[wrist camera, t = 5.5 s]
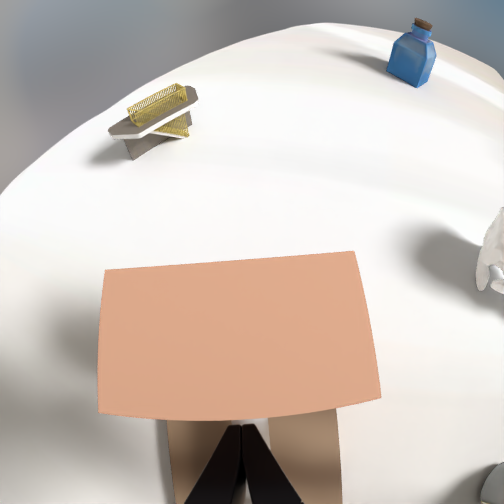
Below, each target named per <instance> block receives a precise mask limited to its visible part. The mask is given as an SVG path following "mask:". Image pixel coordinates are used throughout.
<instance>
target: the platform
mask: <svg viewBox="0 0 504 504" xmlns="http://www.w3.org/2000/svg"><path fill="white" fill-rule="evenodd" d="M174 85H175V86H174ZM171 86H172V88H171ZM171 86H169V87H170V88H171V92H170V88H169V87H167V88H165V89H163V90H164V93H163V90H161V91H162V93H163V97H162V98H161V96H162V93H161V96H160V92H161V91H159V92H157V93H155V94H153V95H154V98H155V95H156V94H157V95H158V93H159V96H160V99H159V96H158V99H157V95H156V98H155V102H154V98H153V95H151V96H152V98H153V101H152V98H151V96H149V97H150V98H151V101H152V103H151V101H150V98H149V97H147V98H145V99H144V100H145V101H146V99H147V101H148V98H149V101H150V104H149V101H148V104H149V105H148V104H147V101H146V104H147V106H146V104H145V101H144V100H142V101H140V102H138V103H136V104H137V107H138V104H139V103H140V104H141V102H142V104H143V101H144V104H145V107H144V104H143V107H144V108H143V107H142V104H141V107H142V109H141V107H140V104H139V107H140V110H139V107H138V110H137V107H136V104H134V105H133V106H131V107H132V109H131V107H129V108H130V109H129V108H127V110H128V113H129V116H128V117H126V118H125V119H123V120H121V121H120V122H118V123H116V124H115V125H113V126H112V127H110V128H109V129H108V132H109V134H110V136H111V137H112V138H113V139H124V142H125V144H126V146H127V149H128V151H129V153H130V155H131V158H132V160H135V159H136V158H138V157H139V156H141V155H142V154H144V153H145V152H147V151H149V150H150V149H152V148H153V147H155V146H157V145H158V144H160V143H161V142H163V141H165V140H166V139H168V138H170V137H177V138H185V137H188V136H189V133H188V134H187V132H188V128H187V127H189V126H190V125H192V121H191V116H190V111H189V110H191V109H193V108H195V107H196V106H197V105H198V104H199V101H198V97H197V94H196V90H195V88H193V87H191V86H185V87H183V86H181V85H179V84H177V83H175V84H173V85H171ZM173 86H174V89H173ZM176 86H177V87H176ZM175 87H176V90H175ZM168 88H169V91H168ZM166 89H167V90H166ZM172 89H173V92H172ZM165 90H166V94H167V91H168V95H166V94H165ZM174 90H175V91H174ZM169 92H170V94H169ZM164 94H165V96H164ZM156 99H157V100H156ZM134 106H135V107H136V110H135V107H134ZM133 107H134V110H133ZM129 110H131V113H132V111H133V113H132V114H131V113H130V111H129ZM134 111H135V113H134ZM186 128H187V131H186ZM183 129H184V131H183ZM185 131H186V132H185Z"/></svg>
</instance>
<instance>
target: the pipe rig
mask: <svg viewBox="0 0 504 504" xmlns="http://www.w3.org/2000/svg"><path fill="white" fill-rule="evenodd" d="M251 423H253V424H255V425H256V427H257V428H258V430H259V432H260V434H261V435H262V437H263V439H264V440H265V442H266V444H267V445H268V447H269V449H270V450H271V452H272V454H273V455H274V457H275V459H276V460H277V462H278V464H279V465H280V467H281V468H282V470H283V472H284V473H285V475H286V476H287V478H288V480H289V481H290V483H291V484H292V486H293V487H294V489H295V490H296V492H297V493H298V495H299V496H300V498H301V499H302V502H304V503H305V504H342V482H341V463H340V449H339V436H338V424H337V413H336V408H334V409H329V410H323V411H317V412H311V413H304V414H297V415H289V416H280V417H270V418H259V419H245V420H222V421H183V420H167V431H168V443H169V453H170V463H171V471H172V479H173V487H174V494H175V500H176V504H184V502H185V500H186V499H187V497H188V495H189V494H190V492H191V490H192V489H193V487H194V485H195V483H196V482H197V480H198V478H199V477H200V475H201V473H202V471H203V470H204V468H205V466H206V464H207V463H208V461H209V459H210V457H211V455H212V454H213V452H214V450H215V448H216V446H217V445H218V443H219V441H220V439H221V437H222V435H223V433H224V432H225V430H226V428H227V426H228V425H233V424H240V425H241V426H242V425H243V424H251ZM245 504H252V502H251V497H250V493H249V489H248V484H247V480H246V496H245Z"/></svg>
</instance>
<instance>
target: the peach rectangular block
mask: <svg viewBox="0 0 504 504" xmlns="http://www.w3.org/2000/svg"><path fill="white" fill-rule="evenodd" d="M379 398H381V390H380V382H379V374H378V367H377V360H376V354H375V348H374V342H373V336H372V330H371V325H370V319H369V314H368V309H367V304H366V299H365V295H364V290H363V285H362V281H361V277H360V272H359V268H358V264H357V260H356V256H355V252H354V251H346V252H334V253H322V254H310V255H298V256H285V257H273V258H260V259H247V260H234V261H221V262H208V263H195V264H181V265H168V266H154V267H140V268H125V269H111V270H105V274H104V282H103V290H102V300H101V310H100V323H99V339H98V413H103V414H110V415H117V416H126V417H135V418H146V419H160V420H183V421H222V420H245V419H259V418H270V417H280V416H289V415H297V414H304V413H311V412H317V411H323V410H329V409H334V408H339V407H344V406H349V405H354V404H358V403H363V402H367V401H371V400H375V399H379Z"/></svg>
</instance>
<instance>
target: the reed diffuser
mask: <svg viewBox="0 0 504 504" xmlns="http://www.w3.org/2000/svg"><path fill="white" fill-rule="evenodd" d="M481 502H482V504H504V462H502V463H500V464H499V465H497V466H496V467H495V468H494V469H493V470H492V472H491V473H490V474H489V476H488V477H487V479H486V481H485V483H484V485H483V488H482V491H481Z"/></svg>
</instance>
